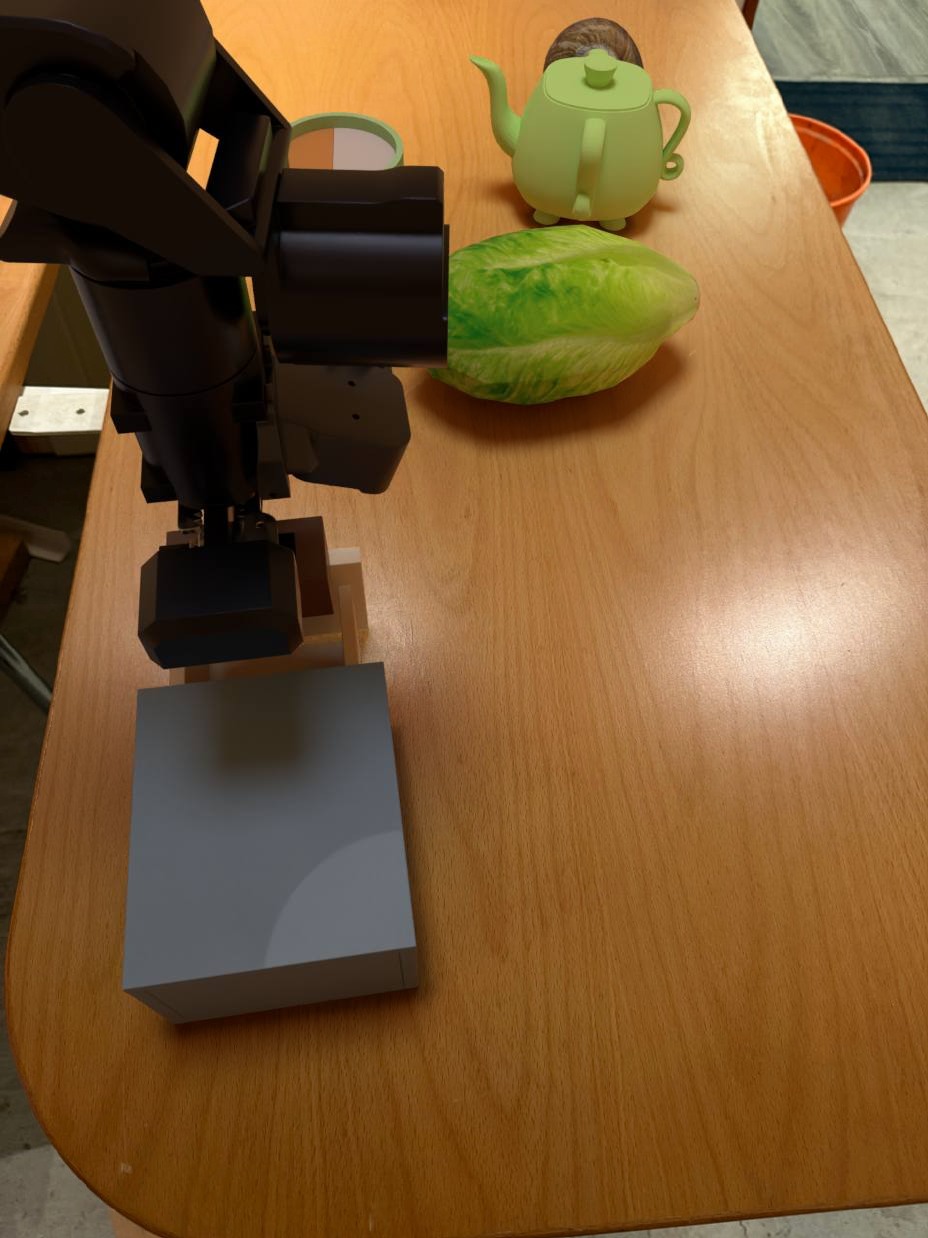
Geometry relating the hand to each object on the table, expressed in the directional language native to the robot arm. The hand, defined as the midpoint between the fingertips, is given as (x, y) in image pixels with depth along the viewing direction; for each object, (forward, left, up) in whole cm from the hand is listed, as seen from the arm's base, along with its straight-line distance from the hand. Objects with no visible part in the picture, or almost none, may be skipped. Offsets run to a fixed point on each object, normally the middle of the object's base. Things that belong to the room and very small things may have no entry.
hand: (252, 580), depth 47 cm
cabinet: (0, -12, -11) cm, 16 cm away
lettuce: (+22, +25, -11) cm, 35 cm away
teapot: (+29, +49, -11) cm, 58 cm away
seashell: (+35, +65, -11) cm, 75 cm away
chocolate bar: (0, 0, -1) cm, 1 cm away
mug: (+6, +39, -11) cm, 41 cm away
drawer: (0, -1, -10) cm, 10 cm away
